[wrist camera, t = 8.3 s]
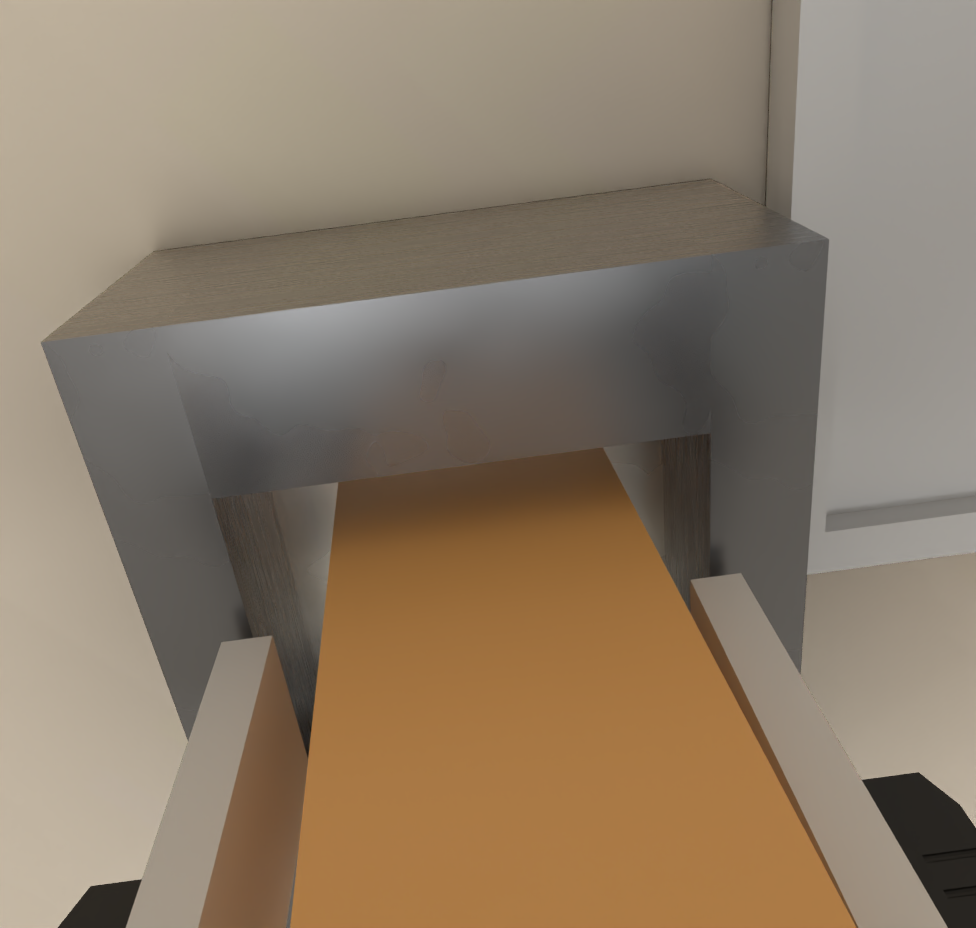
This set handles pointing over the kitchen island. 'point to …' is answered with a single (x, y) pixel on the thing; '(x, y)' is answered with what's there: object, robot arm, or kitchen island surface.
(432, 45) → the kitchen island surface
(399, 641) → the orange square bottle
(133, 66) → the kitchen island surface
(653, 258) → the grey bottle rack
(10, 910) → the kitchen island surface
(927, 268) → the tray
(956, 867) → the robot arm
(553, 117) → the kitchen island surface
